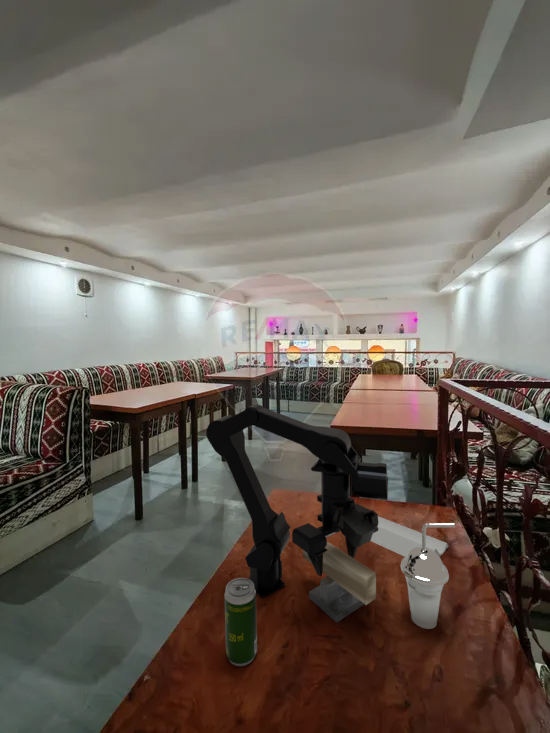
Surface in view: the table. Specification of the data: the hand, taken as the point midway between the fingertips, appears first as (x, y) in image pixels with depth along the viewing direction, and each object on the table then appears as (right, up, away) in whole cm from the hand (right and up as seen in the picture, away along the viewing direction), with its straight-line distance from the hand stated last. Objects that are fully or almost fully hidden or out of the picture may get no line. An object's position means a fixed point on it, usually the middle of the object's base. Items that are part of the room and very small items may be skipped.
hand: (335, 566), depth 71 cm
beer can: (-18, -9, -11) cm, 23 cm away
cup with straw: (+16, -8, -5) cm, 19 cm away
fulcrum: (0, -8, 0) cm, 8 cm away
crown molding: (+18, -7, +26) cm, 32 cm away
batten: (0, -2, 0) cm, 2 cm away
